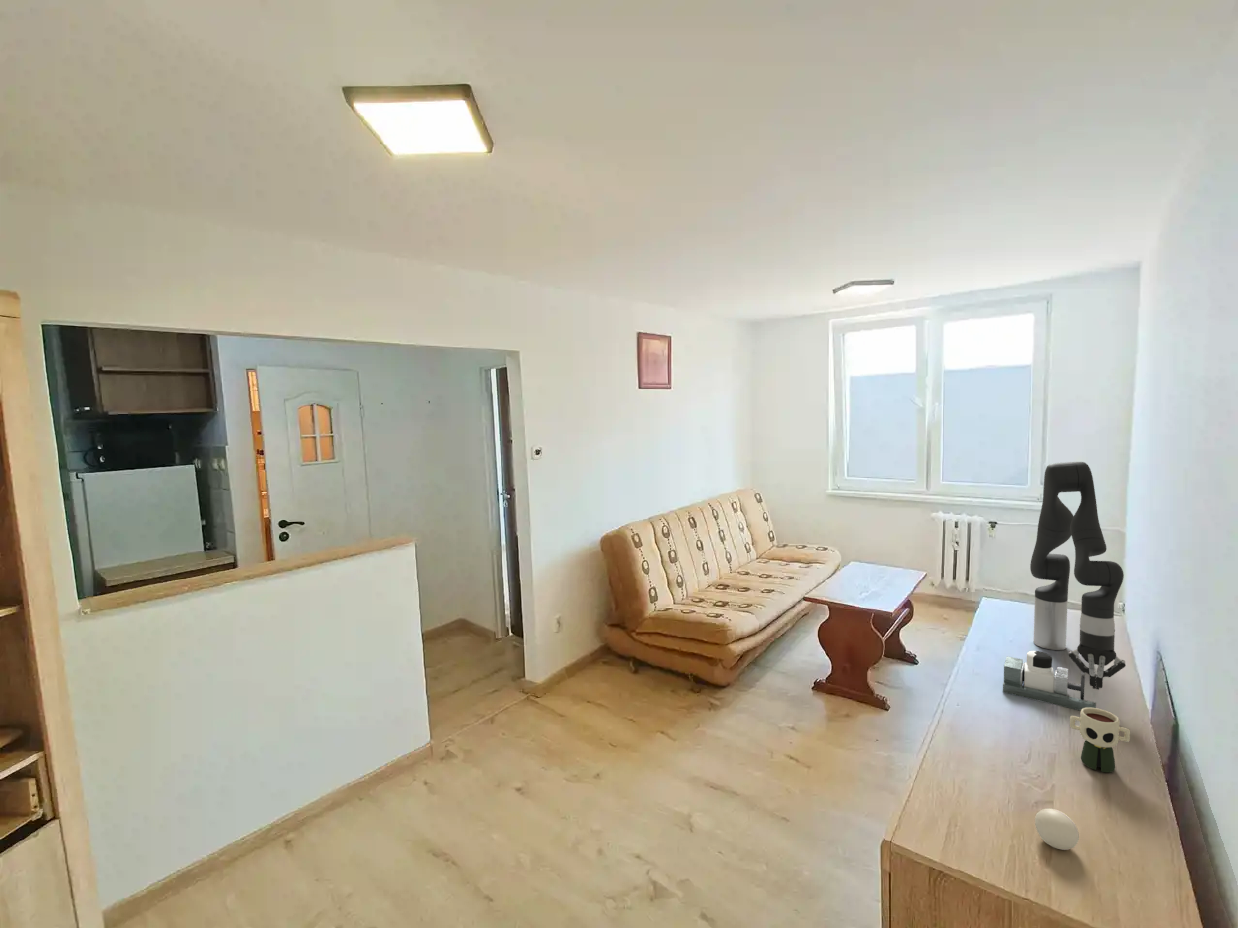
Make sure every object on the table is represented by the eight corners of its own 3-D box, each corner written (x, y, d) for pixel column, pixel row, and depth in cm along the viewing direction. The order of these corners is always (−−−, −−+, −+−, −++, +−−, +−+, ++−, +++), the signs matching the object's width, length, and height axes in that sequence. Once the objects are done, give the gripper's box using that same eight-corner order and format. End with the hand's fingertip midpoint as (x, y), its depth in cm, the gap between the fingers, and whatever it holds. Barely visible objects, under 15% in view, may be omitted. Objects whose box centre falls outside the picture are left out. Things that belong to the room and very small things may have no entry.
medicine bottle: (1052, 689, 169) (1053, 651, 168) (1054, 699, 164) (1055, 660, 162) (1023, 683, 174) (1024, 646, 172) (1024, 693, 168) (1025, 655, 167)
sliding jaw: (1054, 689, 169) (1055, 663, 168) (1083, 695, 165) (1084, 669, 164) (1053, 699, 163) (1054, 673, 162) (1083, 706, 159) (1084, 679, 158)
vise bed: (1006, 678, 177) (1006, 656, 176) (1095, 698, 163) (1096, 674, 162) (1002, 691, 169) (1003, 668, 168) (1095, 714, 155) (1096, 688, 155)
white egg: (1062, 830, 115) (1063, 800, 114) (1085, 859, 108) (1087, 827, 107) (1026, 828, 116) (1027, 798, 115) (1047, 856, 109) (1048, 824, 108)
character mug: (1068, 765, 135) (1070, 714, 133) (1068, 750, 140) (1070, 701, 139) (1129, 782, 128) (1132, 729, 127) (1126, 766, 134) (1129, 714, 132)
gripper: (1127, 630, 157) (1126, 688, 158) (1067, 620, 165) (1066, 676, 167) (1129, 639, 151) (1127, 700, 153) (1066, 629, 160) (1065, 687, 161)
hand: (1095, 687), depth 160 cm, fingers closed
